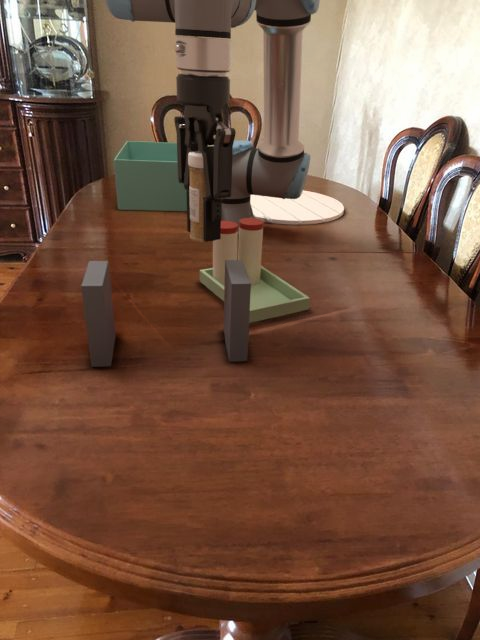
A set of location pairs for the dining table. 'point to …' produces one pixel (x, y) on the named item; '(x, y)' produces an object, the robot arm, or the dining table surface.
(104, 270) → the grey book front
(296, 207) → the lazy susan
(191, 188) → the sprinkles bottle
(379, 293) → the dining table surface
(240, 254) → the spice bottle
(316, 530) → the dining table surface
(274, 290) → the tray
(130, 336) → the dining table surface
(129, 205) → the box
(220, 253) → the spice bottle
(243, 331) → the grey upright slab
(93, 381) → the dining table surface
